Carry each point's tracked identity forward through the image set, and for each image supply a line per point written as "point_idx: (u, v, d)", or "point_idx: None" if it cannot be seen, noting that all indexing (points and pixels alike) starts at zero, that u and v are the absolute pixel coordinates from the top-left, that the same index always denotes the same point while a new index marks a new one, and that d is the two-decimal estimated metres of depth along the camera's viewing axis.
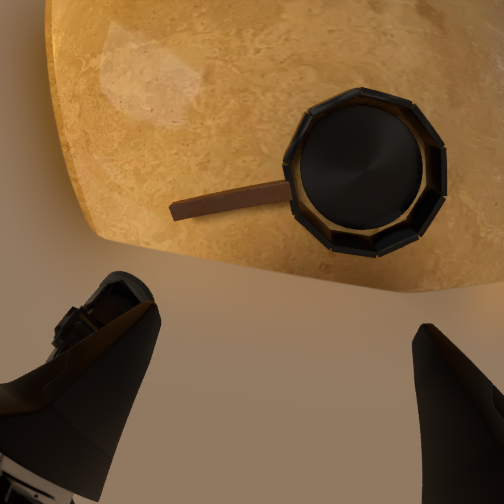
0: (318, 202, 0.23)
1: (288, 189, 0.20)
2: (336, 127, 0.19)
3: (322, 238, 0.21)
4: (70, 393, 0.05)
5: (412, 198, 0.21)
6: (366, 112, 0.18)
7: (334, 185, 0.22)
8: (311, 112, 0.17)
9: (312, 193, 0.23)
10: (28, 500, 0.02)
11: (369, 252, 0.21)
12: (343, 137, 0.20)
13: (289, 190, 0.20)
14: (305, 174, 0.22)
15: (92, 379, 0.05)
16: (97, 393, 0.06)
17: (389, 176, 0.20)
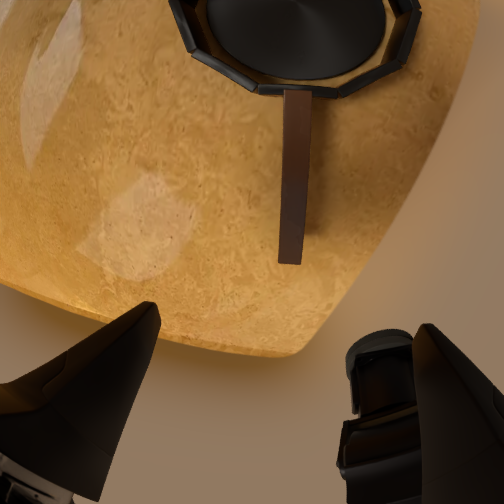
0: (336, 66, 0.13)
1: (295, 93, 0.12)
2: (232, 28, 0.12)
3: (382, 69, 0.10)
4: (70, 393, 0.05)
5: None
6: None
7: (313, 41, 0.12)
8: (191, 49, 0.11)
9: (321, 71, 0.13)
10: (28, 500, 0.02)
11: (412, 16, 0.08)
12: (246, 21, 0.12)
13: (296, 92, 0.12)
14: (291, 73, 0.13)
15: (92, 379, 0.05)
16: (97, 393, 0.06)
17: None
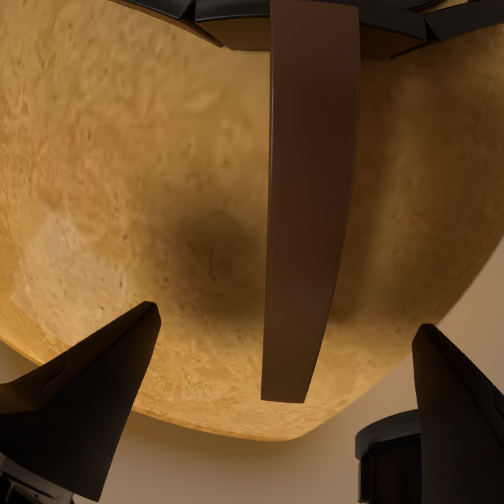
0: None
1: (306, 9, 0.03)
2: None
3: None
4: (70, 393, 0.05)
5: None
6: None
7: None
8: None
9: None
10: (28, 500, 0.02)
11: None
12: None
13: (311, 5, 0.03)
14: None
15: (92, 379, 0.05)
16: (97, 393, 0.06)
17: None
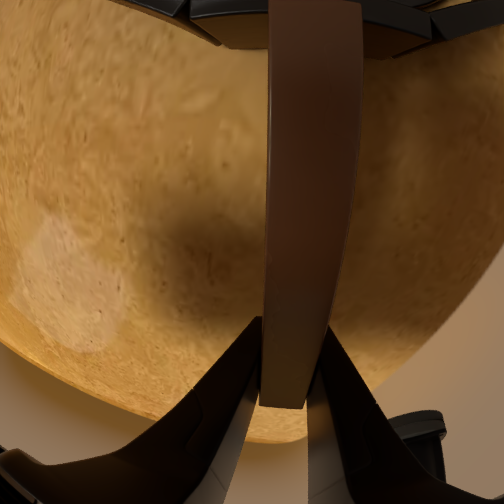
0: None
1: (306, 5, 0.03)
2: None
3: None
4: (222, 443, 0.04)
5: None
6: None
7: None
8: None
9: None
10: (28, 500, 0.02)
11: None
12: None
13: (311, 1, 0.03)
14: None
15: (236, 418, 0.05)
16: (236, 431, 0.05)
17: None
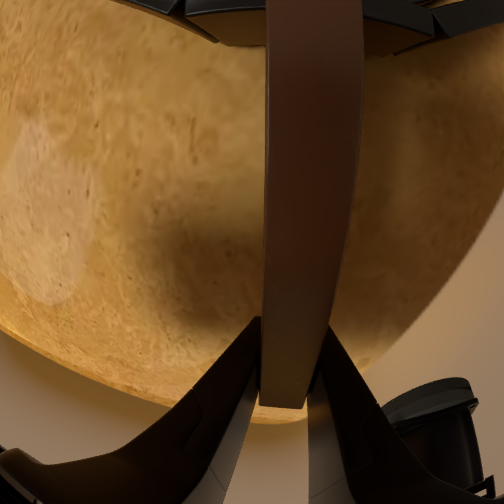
0: None
1: (305, 1, 0.03)
2: None
3: None
4: (221, 443, 0.04)
5: None
6: None
7: None
8: None
9: None
10: (28, 500, 0.02)
11: None
12: None
13: None
14: None
15: (236, 418, 0.05)
16: (235, 431, 0.05)
17: None
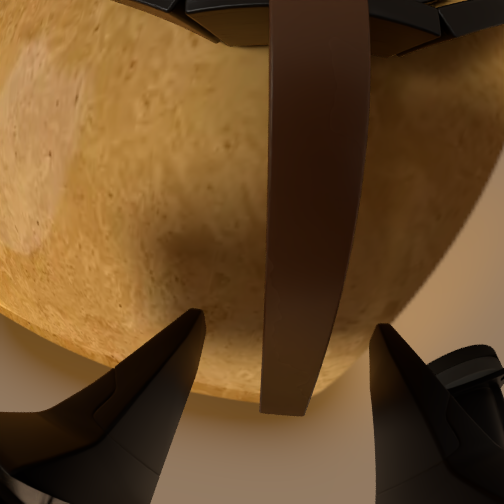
0: None
1: None
2: None
3: None
4: (127, 417, 0.04)
5: None
6: None
7: None
8: None
9: None
10: None
11: None
12: None
13: None
14: None
15: (148, 398, 0.05)
16: (152, 412, 0.05)
17: None
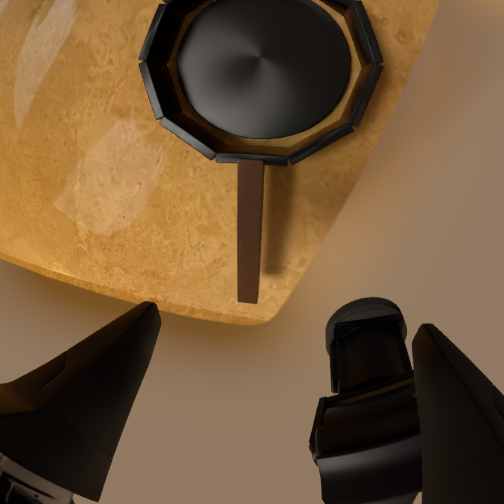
0: (294, 125, 0.16)
1: (247, 162, 0.14)
2: (199, 86, 0.15)
3: (333, 135, 0.13)
4: (70, 393, 0.05)
5: (309, 2, 0.11)
6: (186, 50, 0.14)
7: (274, 99, 0.15)
8: (159, 117, 0.14)
9: (280, 130, 0.16)
10: (28, 500, 0.02)
11: (372, 73, 0.11)
12: (212, 79, 0.15)
13: (249, 162, 0.14)
14: (252, 133, 0.16)
15: (92, 379, 0.05)
16: (97, 393, 0.06)
17: (273, 28, 0.12)
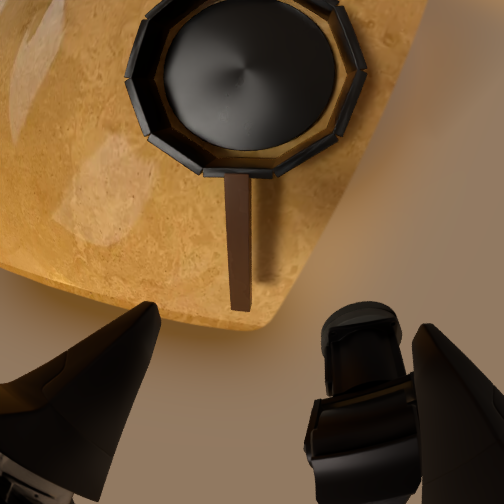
0: (281, 135, 0.16)
1: (233, 176, 0.15)
2: (186, 100, 0.16)
3: (317, 146, 0.13)
4: (70, 393, 0.05)
5: (292, 9, 0.11)
6: (171, 64, 0.14)
7: (260, 111, 0.15)
8: (146, 134, 0.14)
9: (267, 141, 0.16)
10: (28, 500, 0.02)
11: (355, 81, 0.11)
12: (198, 93, 0.15)
13: (235, 176, 0.15)
14: (239, 145, 0.17)
15: (92, 379, 0.05)
16: (97, 393, 0.06)
17: (256, 38, 0.13)
